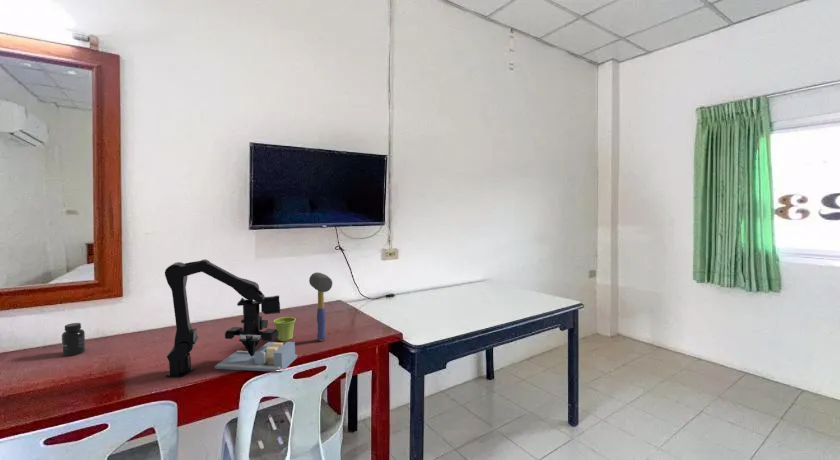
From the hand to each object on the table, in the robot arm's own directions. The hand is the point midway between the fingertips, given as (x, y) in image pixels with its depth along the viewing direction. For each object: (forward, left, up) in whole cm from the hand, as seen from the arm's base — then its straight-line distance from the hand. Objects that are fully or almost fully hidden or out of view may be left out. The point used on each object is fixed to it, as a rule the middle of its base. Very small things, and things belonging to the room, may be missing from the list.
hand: (252, 355), depth 142 cm
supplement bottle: (+1, +77, -3) cm, 77 cm away
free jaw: (0, -6, -1) cm, 6 cm away
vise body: (0, -2, -3) cm, 3 cm away
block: (0, -9, -2) cm, 9 cm away
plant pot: (+25, -1, -3) cm, 25 cm away
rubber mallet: (+25, -18, -3) cm, 31 cm away
